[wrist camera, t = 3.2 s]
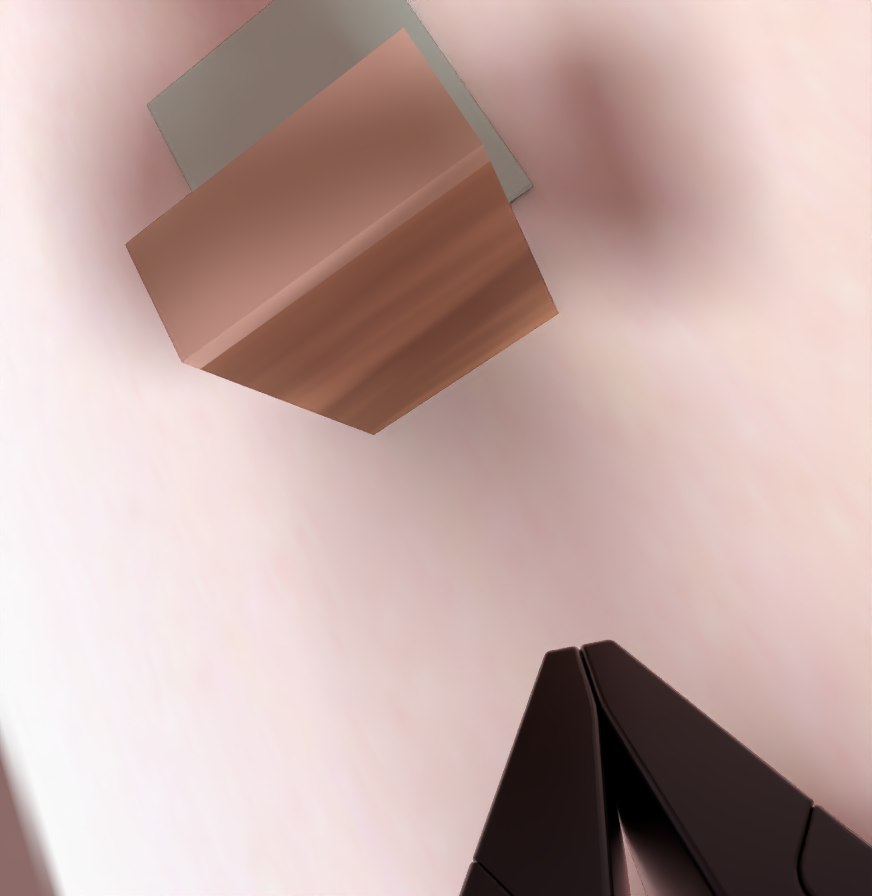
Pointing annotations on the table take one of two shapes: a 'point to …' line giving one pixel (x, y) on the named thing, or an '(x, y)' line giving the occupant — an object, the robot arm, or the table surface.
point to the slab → (349, 252)
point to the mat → (297, 82)
